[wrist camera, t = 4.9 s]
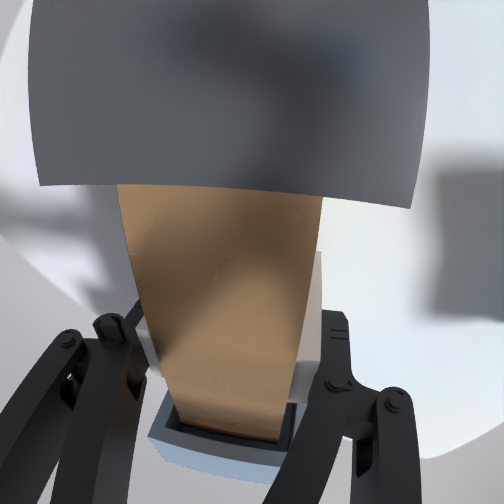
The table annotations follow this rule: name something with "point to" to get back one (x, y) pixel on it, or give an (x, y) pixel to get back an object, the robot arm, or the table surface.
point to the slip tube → (223, 297)
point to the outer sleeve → (232, 94)
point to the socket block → (222, 446)
